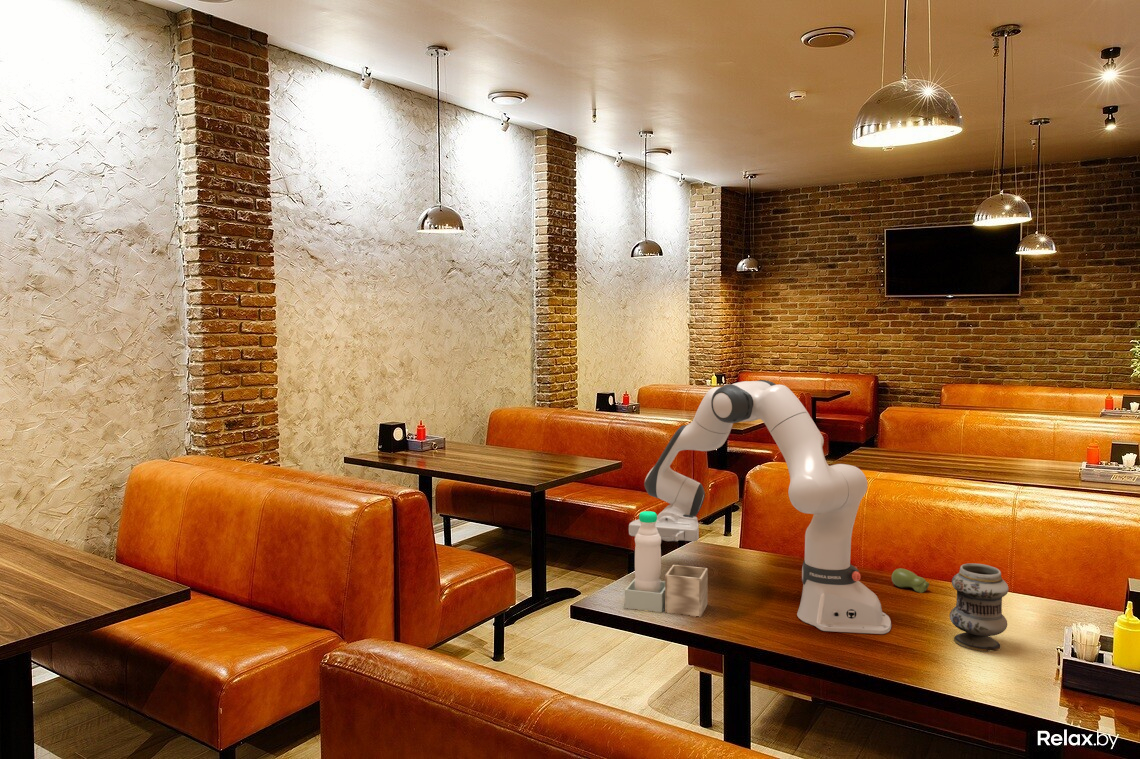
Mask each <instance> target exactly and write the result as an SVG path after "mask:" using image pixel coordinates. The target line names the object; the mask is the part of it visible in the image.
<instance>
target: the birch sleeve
mask: <svg viewBox="0 0 1140 759" xmlns="http://www.w3.org/2000/svg"><path fill="white" fill-rule="evenodd" d="M664 576H665V577H664V582H665V609H664V613H665V612H667V613H666V614H672V613H675V614H674V615H680V614H683V615H682V616H688V615H690V616H689V617H696V616H699V617H698V618H701V617H702V616H703V614H704V612H705V610H706V608H707V606H708V568H707V567H700V566H699V567H697V566H690V565H679V564H672V566H670V568H669V569H668V571H667V572H666V573H665V574H664Z"/></svg>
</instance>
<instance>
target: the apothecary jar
mask: <svg viewBox="0 0 1140 759" xmlns="http://www.w3.org/2000/svg"><path fill="white" fill-rule="evenodd" d="M951 585H952V587H953V589H954V590H955V591H956V603H955V606H954V607H953V608H952V609H951V610H950V613H949V619H950V622H951V623H952V625H954V626H955V628H957V629H959V630H960V631H962V632H961V633H958V634H956V635H955V636H954V637H953V641H954V642H955V643H956V644H958V645H959V646H961V647H963V648H965V649H969V650H973V651H978V652H987V653H988V652H990V651H994V652H995V651H999V650H1001V648H1002V646H1001V644H1000V642H999V641H998V640H996V639H994V638H993V636H994V637H995V636H997V635H1001V634H1002V633H1004V632H1006V630H1007V628H1008V620H1007V619H1006V617H1005V615H1003V609H1002V608H1003V606H1002V605H1003V598H1004V597H1005V596H1006V595H1007V594H1008V593H1009V586H1008V583H1007V582H1006V581H1005V580H1004V579H1003V578H1002V571H1001V570H1000V569H999V568H997V567H994V566H991V565H988V564H983V563H974V562H973V563H964V564H962V565H960V567H959V571H958V573H956V574H955V575H954V576H953V577H952V579H951Z"/></svg>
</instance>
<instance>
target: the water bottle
mask: <svg viewBox="0 0 1140 759" xmlns="http://www.w3.org/2000/svg"><path fill="white" fill-rule="evenodd" d="M657 515H658V514H657V513H656V512H655V511H650V510H646V511H645V510H644V511H641V512H639V515H638V519H639V520H640V523H641V526H640V528H639V530H638V533H637V534H636V536H634V544H635V548H634V574H635V577H634V578H635V590H637V591H646V592H655V593H660V589H661V581H662V580H661V573H662V549H661V544H662V539H661V537H660V535H659V533H658V530H657V528H656V526H655V523H656V521H657Z"/></svg>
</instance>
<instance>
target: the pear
mask: <svg viewBox="0 0 1140 759" xmlns="http://www.w3.org/2000/svg"><path fill="white" fill-rule="evenodd" d="M891 581H892V584H893V585H895V586H896V587H897V588H912V589H913V590H914V592H917V593H920V594H922V593H924V592H926V591H927V590H928V588H929V587H930V582H928V581H926V579H925V578H924V577H921V576H918V575H917V574H916V573H914V572H913V571H911V570H908V569H906V568H901V567H899V568H896V569H895V570H893V572H892V574H891Z"/></svg>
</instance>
